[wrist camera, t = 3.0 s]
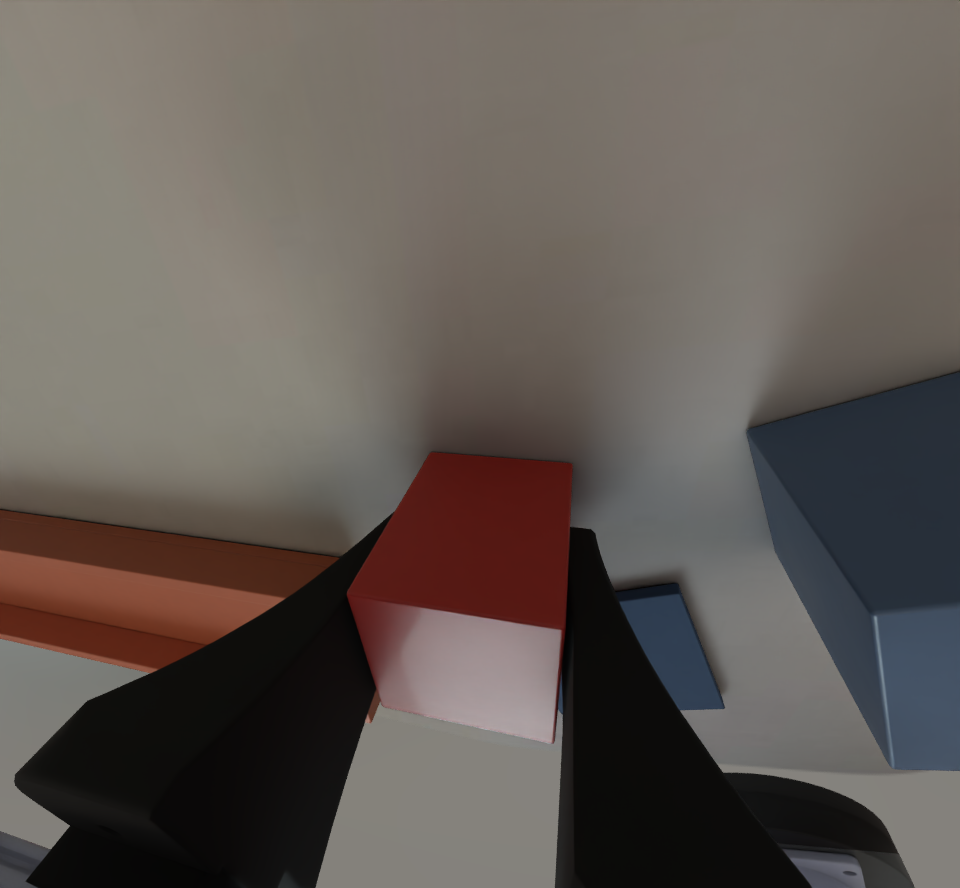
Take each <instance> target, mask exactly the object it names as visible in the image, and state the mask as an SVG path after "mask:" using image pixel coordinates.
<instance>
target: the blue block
mask: <svg viewBox="0 0 960 888" xmlns="http://www.w3.org/2000/svg"><path fill="white" fill-rule="evenodd" d="M747 437H748V441H749V445H750V449H751V453H752V458H753V462H754V466H755V470H756V474H757V478H758V482H759V486H760V491H761V495H762V499H763V503H764V507H765V511H766V515H767V519H768V523H769V528H770V532H771V536H772V540H773V544H774V548H775V552H776V554H777V556H778V558H779V560H780V561H781V563H782V565H783V567H784V569H785V571H786V573H787V575H788V577H789V578H790V580H791V582H792V584H793V586H794V588H795V590H796V592H797V593H798V595H799V597H800V599H801V601H802V603H803V605H804V607H805V608H806V610H807V612H808V614H809V616H810V618H811V620H812V622H813V623H814V625H815V627H816V629H817V631H818V633H819V635H820V637H821V638H822V640H823V642H824V644H825V646H826V648H827V650H828V652H829V653H830V655H831V657H832V659H833V661H834V663H835V665H836V667H837V668H838V670H839V672H840V674H841V676H842V678H843V680H844V682H845V683H846V685H847V687H848V689H849V691H850V693H851V695H852V697H853V698H854V700H855V702H856V704H857V706H858V708H859V710H860V712H861V713H862V715H863V717H864V719H865V721H866V723H867V725H868V727H869V728H870V730H871V732H872V734H873V736H874V738H875V740H876V742H877V743H878V745H879V747H880V749H881V751H882V753H883V755H884V757H885V758H886V760H887V762H888V764H889V765H890V766H891V767H892V768H893V769H897V770H946V771H949V770H950V771H960V372H958V373H954V374H951V375H947V376H943V377H939V378H936V379H932V380H928V381H925V382H921V383H917V384H914V385H910V386H906V387H902V388H899V389H895V390H891V391H888V392H884V393H880V394H877V395H873V396H869V397H866V398H862V399H858V400H854V401H851V402H847V403H843V404H840V405H836V406H832V407H829V408H825V409H821V410H817V411H814V412H810V413H806V414H803V415H799V416H795V417H792V418H788V419H784V420H780V421H777V422H773V423H769V424H766V425H762V426H758V427H755V428H751V429H748V430H747Z"/></svg>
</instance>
